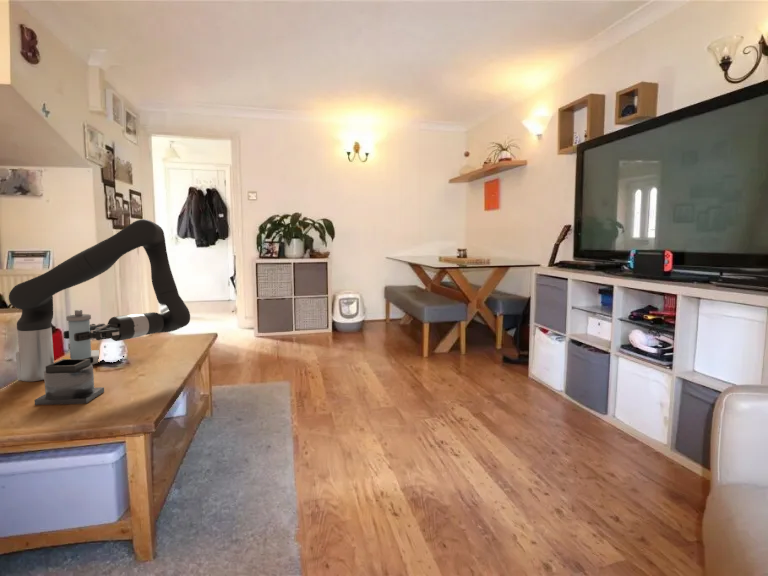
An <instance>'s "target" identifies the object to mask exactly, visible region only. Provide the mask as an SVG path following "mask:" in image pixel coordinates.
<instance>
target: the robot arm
mask: <svg viewBox="0 0 768 576" xmlns="http://www.w3.org/2000/svg"><path fill="white" fill-rule="evenodd" d="M140 247H143V250H144V251H145V253H146V255H147V258H148V260H149V263H150V274H151V275H150V277H151V284H152V287H153V291H154V294H155V297H156V300H157V302H158V304H159V305H162V306H166V307H167V309H168V311H166V312H163V313H159V312H156V311H155V312H145V313H132V314H126V315H117V316H113V317H110V319H109V320H108V322H107V323H106V324H105V322H103V323H98V324H95V323H91V324H90V333H89V331H87V332H81V333H75V334H74V340H75V341H83V340H88V339H90V340H91V341H94V340H96V341H101V340H108V339H111V340H112V341H114V342H119V341H125V340H132V339H137V338H140V337H143V336H147V335H153V334H157V333H160V334H161V333H172V332H174V331H177V330H179V329H182V328H184V327H186V326H187V325H189V323H190V321H191V312H190V310H189V307H188V306H187V305H186V303H185V301H184V300H183V299H182V297H181V296H180V294H179V291H178V287H177V284H176V282H175V278H174V276H173V275H174V274H173V272H172V269H171V265H170V262H169V258H168V257H169V256H168V251H167V244H166V237H165V232H164V230H163V228H162V227H161V226H160V225H159V224H157V223H156V222H154V221H151V220H149V219H146V218H145V219H137V220H135V221H133V222H131V223H130V224H129V225H127V226H126V227H124V228H123V229H121V230H120V231H118V232H116V233H115V234H113V235H112V236H110V237H107V238H106V239H104V240H102V241H100V242H98V243H97V244H95V245H93V246H90V247H88V248H86V249H84V250H82V251H80V252H79V253H77V254H74V255H73V256H71V257H70V258H68V259H65V260H64V261H63V262H60V263H59V264H57V266H55V267H52V268H51V269H50V270H48V271H46V272H44V273H42V274H39V275H38V276H35V277H33V278H31V279H28V280H26V281H23V282H21V283H18V284H16V285H14V286H13V287H12V289H11V290H10V291H9V293H8V294H9V295H8V300H9V303H10V305H11V306H12V307H14V308H15V309H19V310H21V315H20V318H19V319H18V320H17V321H16V331H17V332H16V333H17V344H18V346H17V347H18V351H17V352H15V359H16V360H15V362H16V375H17V381H22V382H39V381H43V380H44V371H46V366H48V365H50V364H53V363H55V358H54V342H53V329H52V321H53V319H54V297H53V296H55V295H57V294H58V293H60V292H62V291H64V290H68V289H69V288H73V287H75V286H77V285H80V284H83V283H85V282H88V281H90V280H92V279H94V278H96V277H98V276H100V275H101V274H103V273H105V272H107V271H108V270H109V269H111V268H112V267H113V266H114V265H115V264H116V262H117V261H118V260H119V259H121V257H122V256H124V255H126V254H128V253H129V252H132V251H133V250H136V249H138V248H140ZM63 339H65V340H69V330H64V331H63Z"/></svg>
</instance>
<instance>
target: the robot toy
mask: <svg viewBox="0 0 768 576" xmlns="http://www.w3.org/2000/svg"><path fill="white" fill-rule="evenodd" d="M85 359H90V362H91V365H93V366H94V365H95V364H99V363H98V359H99V349H94V350H93V349H91V357H89V358H85Z"/></svg>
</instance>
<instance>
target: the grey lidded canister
mask: <svg viewBox="0 0 768 576" xmlns="http://www.w3.org/2000/svg"><path fill="white" fill-rule="evenodd" d="M91 320H92V314H89V313H88V314H87V313H83V309H75V310H74V314H72V315H71V314H70V315H67V316H66V319H65V321H66V322H67V323H68V324H67V325H68V331H69V339H68V341H69V342H68V343H69V355H70V357H69V359H85V358H89V357H91V350H92V344H91V343H92V340H90V339H88V340H83V341H75V340H74V334H75V333H81V332H87V331H89V333H90V325H91V324H90V323H91V322H90V321H91Z"/></svg>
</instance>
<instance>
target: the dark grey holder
mask: <svg viewBox="0 0 768 576" xmlns="http://www.w3.org/2000/svg"><path fill="white" fill-rule="evenodd" d="M44 392H45V394H42V395H41V396H40V397H37V398H35V399H34V405H35V406H38V405H39V406H45V405H79V404H80V405H85V403H86V405H87V404H88V403H89V401H90V402H91V401H93V400H94V399H96V398H97V397H99V396H100V395H102V394H104V393H105V387H103V386H102V387H95V376H94V364H93V365H91V362H90V359H71V358H67V359H66V358H63V359H60V360H58V361H54V363H53V364H50V365H48V366H46V371H44ZM103 392H104V393H103ZM101 393H102V394H101ZM98 395H99V396H98ZM95 397H96V398H95ZM92 399H93V400H92ZM83 403H84V404H83Z"/></svg>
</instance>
